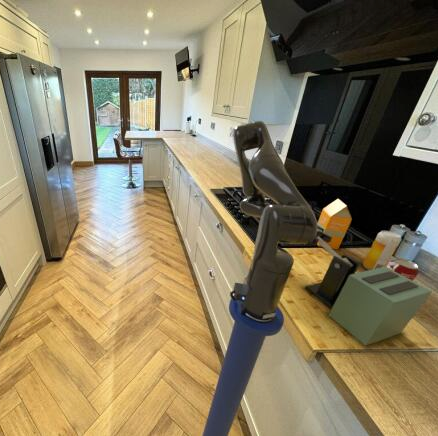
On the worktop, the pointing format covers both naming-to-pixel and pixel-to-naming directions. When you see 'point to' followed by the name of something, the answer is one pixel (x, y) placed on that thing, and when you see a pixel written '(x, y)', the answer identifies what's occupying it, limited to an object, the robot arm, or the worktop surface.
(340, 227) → the orange juice
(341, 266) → the bracket
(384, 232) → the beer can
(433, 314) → the worktop surface
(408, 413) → the worktop surface
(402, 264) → the soda can
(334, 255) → the lever
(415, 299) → the toaster
